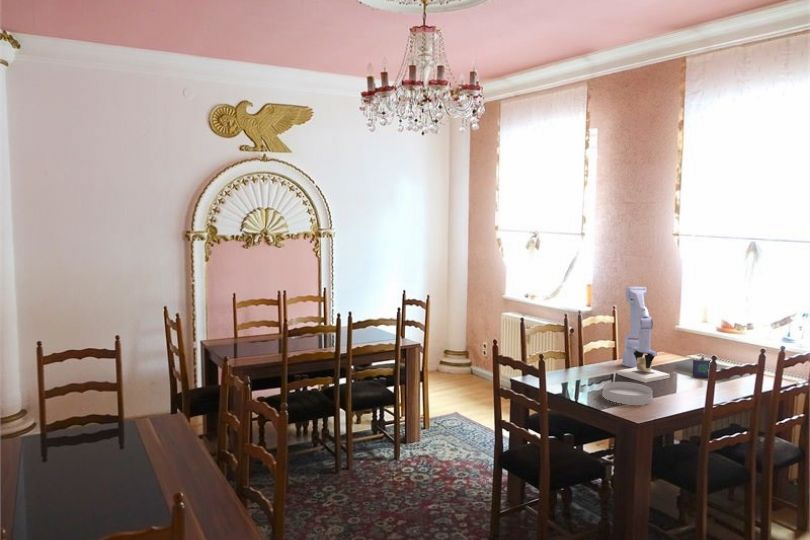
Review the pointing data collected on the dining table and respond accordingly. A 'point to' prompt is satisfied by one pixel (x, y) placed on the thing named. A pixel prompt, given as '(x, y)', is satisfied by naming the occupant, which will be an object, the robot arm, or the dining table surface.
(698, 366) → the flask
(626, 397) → the dish
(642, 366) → the block
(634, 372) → the plinth
